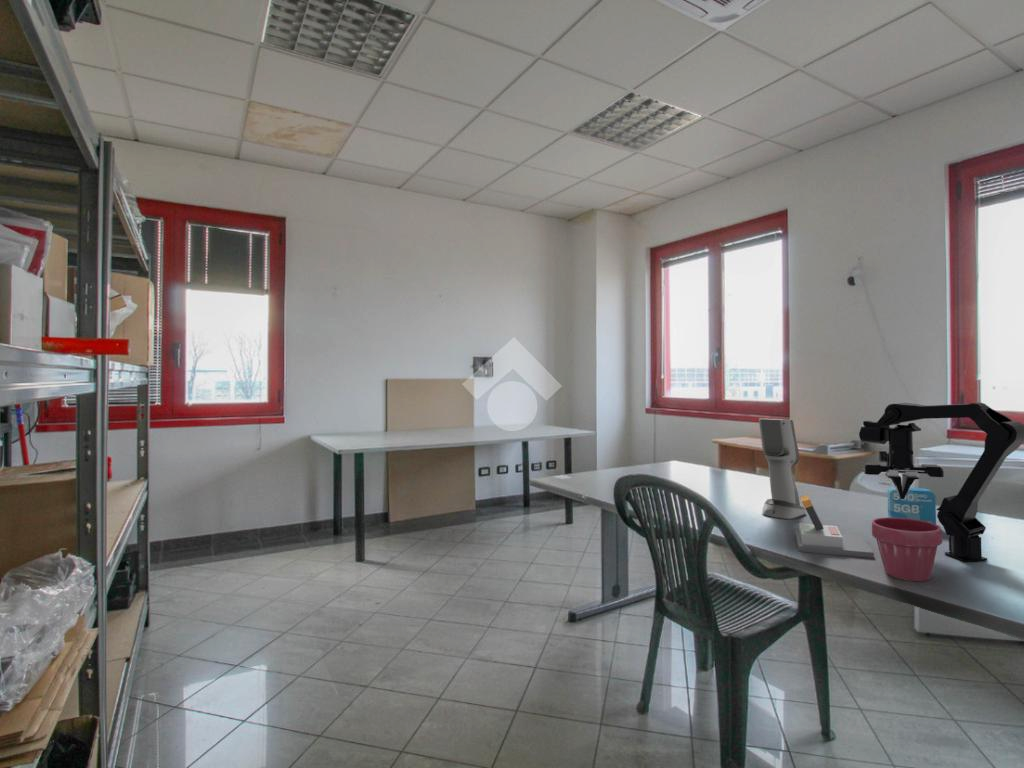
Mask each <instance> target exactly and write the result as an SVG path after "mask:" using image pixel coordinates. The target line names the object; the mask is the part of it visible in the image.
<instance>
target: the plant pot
mask: <svg viewBox="0 0 1024 768" xmlns="http://www.w3.org/2000/svg"><path fill="white" fill-rule="evenodd" d="M871 535H872V537H874V539H876V542H877V547H878V551H879V554H880V558H881V561H882V565H883V569H884V571H885V573H886V574H887V575H889V576H890V577H893V578H896V579H899V580H903V581H904V580H905V581H911V582H912V581H913V582H926V581H929V580H930V579H931V575H932V572H933V567H934V563H935V559H936V554H937V550H938V546H940V545H942V543H943V535H942V527H941V526H940V525H938V524H937V523H936V524H934V523H931V522H927V521H922V520H917V519H909V518H894V517H888V516H887V517H878V518H874V519H872V521H871Z"/></svg>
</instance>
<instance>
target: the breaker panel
mask: <svg viewBox="0 0 1024 768" xmlns="http://www.w3.org/2000/svg"><path fill="white" fill-rule="evenodd" d="M798 524H799V527H798V528H799V529H798V530H795V531H794V532H795V540H796V544H797V547H798V552H799V553H800V552H803V553H813V554H822V555H823V554H825V555H833V556H834V555H835V556H846V557H857V558H868V559H875V553H874V551H873V549H872V548H871V546H870V545H869V543H868V542H867V540H866V538H865V536H863V535H851V534H849V535H848V534H841V532H840V530H839V527H838V526H837V525H825V524H822V526H823V528H824V529H822V530H818V531H816V529H815V527H814V525H813V523H798Z"/></svg>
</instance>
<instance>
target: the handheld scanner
mask: <svg viewBox="0 0 1024 768" xmlns="http://www.w3.org/2000/svg"><path fill="white" fill-rule="evenodd" d="M758 424H759V431H760V440H761V442H760V443H761V447H762V451H763V454H764V456H765V459H766V461H767V464H768V473H769V485H770V486H769V487H770V495H771V498H767V500H765V502H764V504H763V507H762V512H761V514H762V515H763V516H765V515H766V516H765V517H770V518H775V519H780V520H793V519H797V518H799V517H802V516H804V515H806V514H807V511H806V509H805V507H804V506H801V502H800V501H801V500H800V496H799V492H798V488H797V484H796V482H795V481H796V480H795V478H794V477H795V476H794V473H793V467H794V466H795V465H797V464H798V463H799V460H800V453H799V448H798V442H797V437H796V430H795V425H794V420H792V419H786V418H765V417H764V418H763V417H759V418H758Z"/></svg>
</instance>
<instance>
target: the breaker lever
mask: <svg viewBox="0 0 1024 768" xmlns="http://www.w3.org/2000/svg"><path fill="white" fill-rule="evenodd" d="M799 499H800V501H801V503H802V505H803V508H804V509H805V510H806V514H807V515H808V516H809V518H810V521H811V524H813V525H814V527H815V529H816V531H818V530H822V529H824V528H823V526H822V525H823V522H822V521H821V519H820V517H819V515H818V513H817V511H816V509H815V508H814V505H813V503H812V501H811V499H810V496H809V495H808V494H804V495H801V496H799Z"/></svg>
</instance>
